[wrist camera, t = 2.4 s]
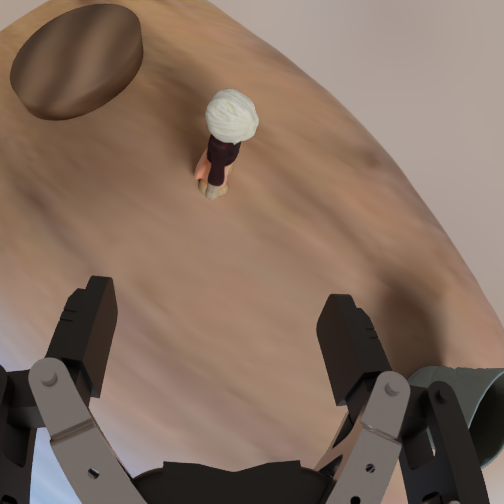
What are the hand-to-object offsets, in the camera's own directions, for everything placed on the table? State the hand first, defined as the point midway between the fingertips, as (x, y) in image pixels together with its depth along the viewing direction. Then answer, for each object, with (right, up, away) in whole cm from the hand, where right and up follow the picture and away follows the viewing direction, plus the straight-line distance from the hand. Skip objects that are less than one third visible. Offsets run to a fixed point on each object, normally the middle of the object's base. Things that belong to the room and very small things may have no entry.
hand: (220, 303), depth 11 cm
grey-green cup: (+21, -15, +19) cm, 32 cm away
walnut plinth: (-19, +24, +17) cm, 35 cm away
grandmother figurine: (-2, +9, +18) cm, 20 cm away
